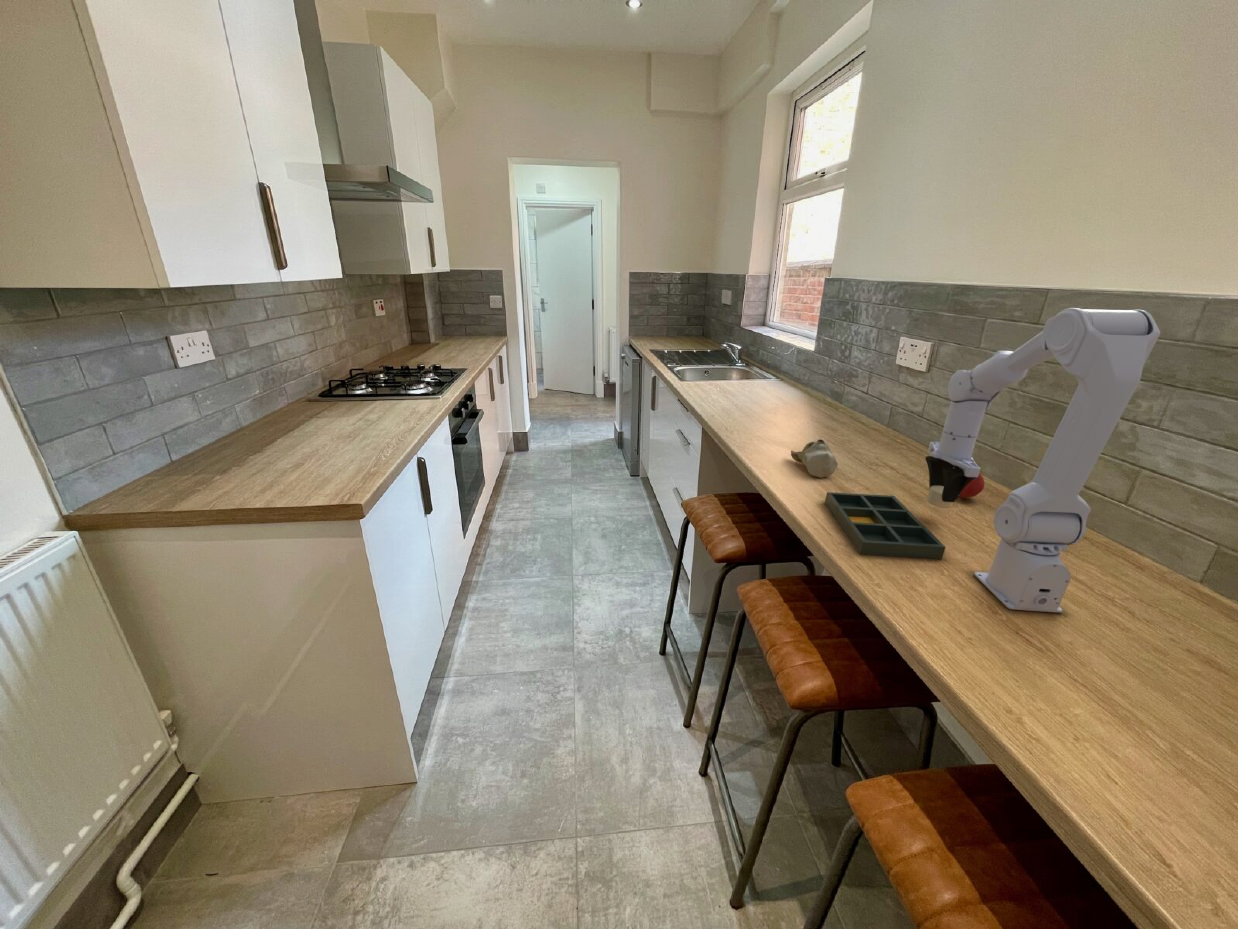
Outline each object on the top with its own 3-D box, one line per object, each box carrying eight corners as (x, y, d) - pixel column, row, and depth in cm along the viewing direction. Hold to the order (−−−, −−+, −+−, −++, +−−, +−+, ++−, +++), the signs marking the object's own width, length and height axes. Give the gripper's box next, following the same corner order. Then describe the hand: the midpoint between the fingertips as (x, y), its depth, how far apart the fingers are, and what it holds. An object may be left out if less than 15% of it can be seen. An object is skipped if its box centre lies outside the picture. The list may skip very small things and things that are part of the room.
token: (956, 508, 98) (961, 495, 97) (933, 507, 99) (937, 494, 98) (944, 498, 103) (948, 485, 101) (922, 497, 103) (926, 484, 102)
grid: (941, 559, 88) (945, 547, 87) (860, 554, 89) (862, 542, 88) (891, 506, 108) (894, 495, 107) (824, 502, 109) (826, 492, 108)
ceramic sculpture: (806, 446, 117) (791, 430, 131) (800, 479, 120) (787, 460, 134) (852, 448, 116) (832, 432, 130) (845, 482, 119) (827, 463, 133)
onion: (983, 505, 109) (994, 472, 106) (955, 502, 110) (965, 469, 107) (971, 494, 115) (982, 462, 112) (944, 491, 116) (954, 460, 113)
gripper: (920, 421, 102) (905, 480, 107) (959, 444, 89) (939, 510, 94) (955, 422, 101) (938, 482, 107) (1000, 446, 88) (978, 513, 93)
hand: (941, 495), depth 100 cm, fingers closed on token, 4 cm apart
